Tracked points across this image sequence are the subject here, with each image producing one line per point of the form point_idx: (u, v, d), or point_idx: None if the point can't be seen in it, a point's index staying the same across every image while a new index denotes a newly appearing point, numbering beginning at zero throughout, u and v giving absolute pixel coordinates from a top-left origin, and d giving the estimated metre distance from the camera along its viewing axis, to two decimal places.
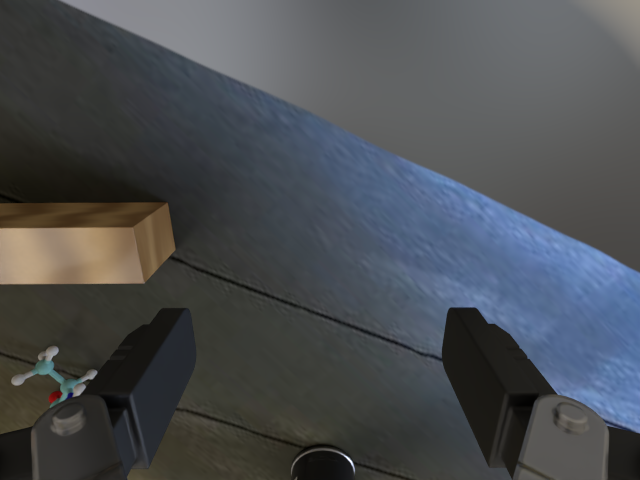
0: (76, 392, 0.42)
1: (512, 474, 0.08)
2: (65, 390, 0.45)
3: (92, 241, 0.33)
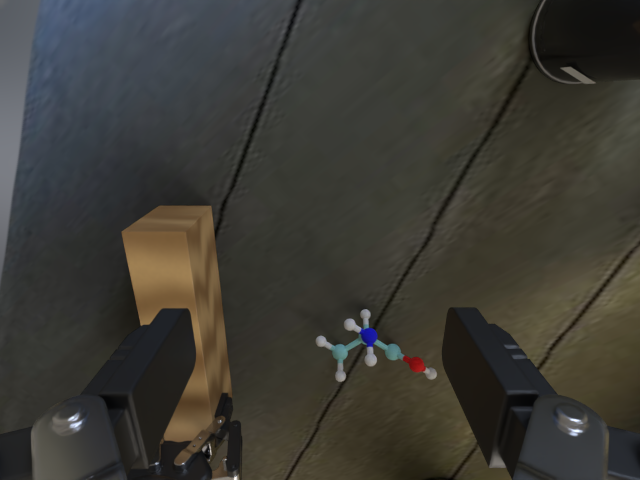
0: (349, 327, 0.38)
1: (512, 474, 0.08)
2: None
3: (144, 272, 0.34)
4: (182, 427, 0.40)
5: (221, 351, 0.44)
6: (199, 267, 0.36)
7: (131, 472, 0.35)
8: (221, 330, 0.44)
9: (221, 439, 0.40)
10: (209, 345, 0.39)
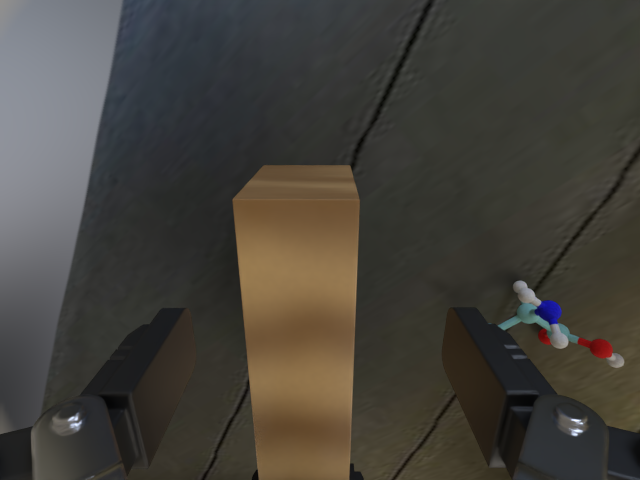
0: (529, 299, 0.29)
1: (512, 474, 0.08)
2: (531, 317, 0.33)
3: (267, 278, 0.18)
4: None
5: None
6: None
7: None
8: None
9: None
10: None
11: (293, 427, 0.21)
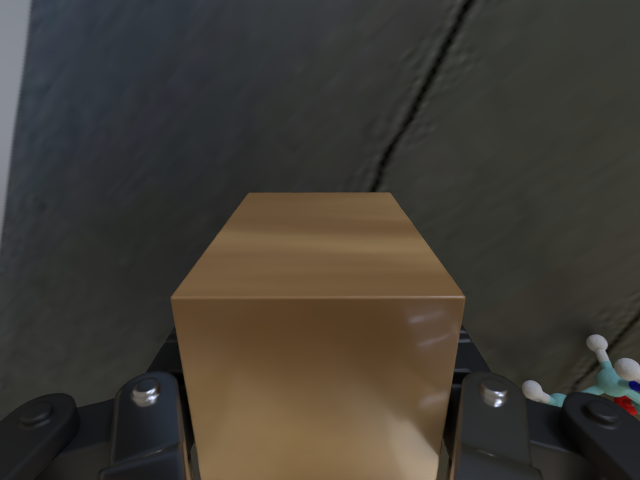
0: (635, 376, 0.20)
1: (448, 452, 0.08)
2: (620, 390, 0.24)
3: (255, 447, 0.08)
4: None
5: None
6: None
7: None
8: None
9: None
10: None
11: None
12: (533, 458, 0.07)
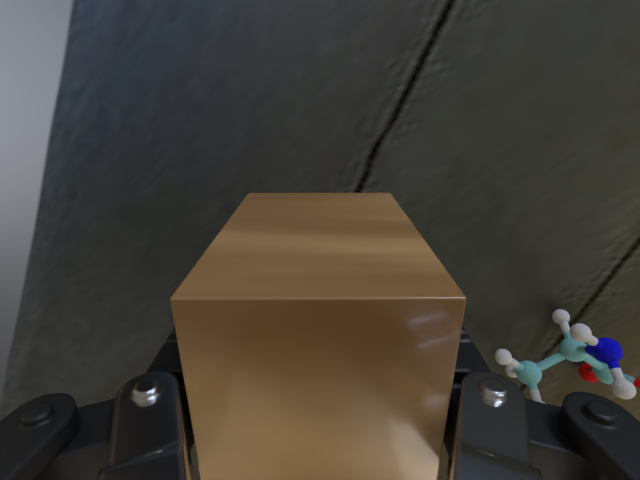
0: (586, 337, 0.24)
1: (448, 452, 0.08)
2: (578, 355, 0.28)
3: (255, 448, 0.08)
4: None
5: None
6: None
7: None
8: None
9: None
10: None
11: None
12: (532, 458, 0.07)
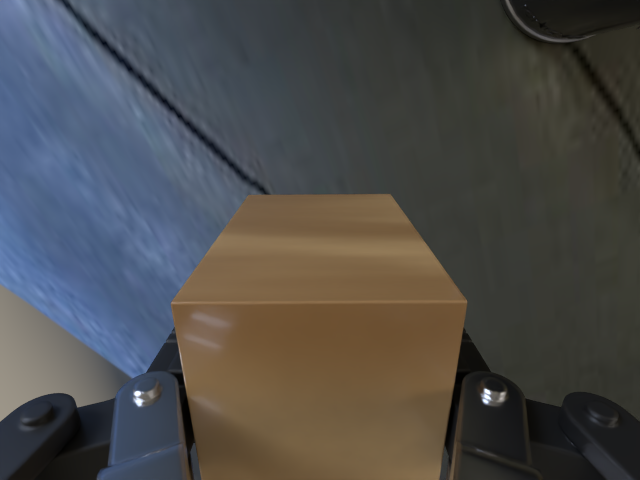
0: None
1: (448, 452, 0.08)
2: None
3: (256, 452, 0.08)
4: None
5: None
6: None
7: None
8: None
9: None
10: None
11: None
12: (533, 458, 0.07)
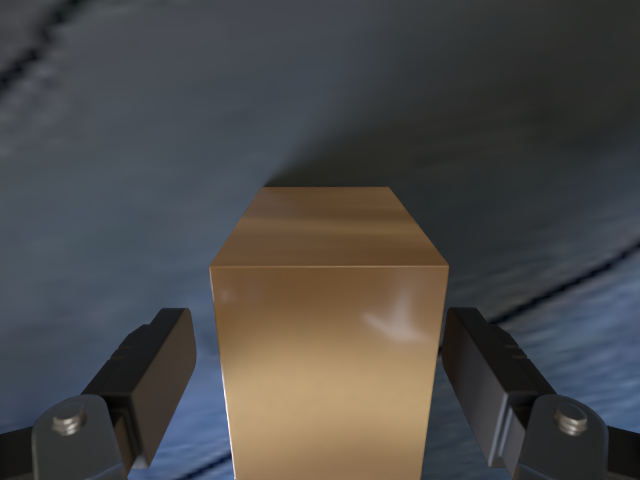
0: None
1: (512, 474, 0.08)
2: None
3: (275, 397, 0.10)
4: None
5: None
6: None
7: None
8: None
9: None
10: None
11: None
12: None
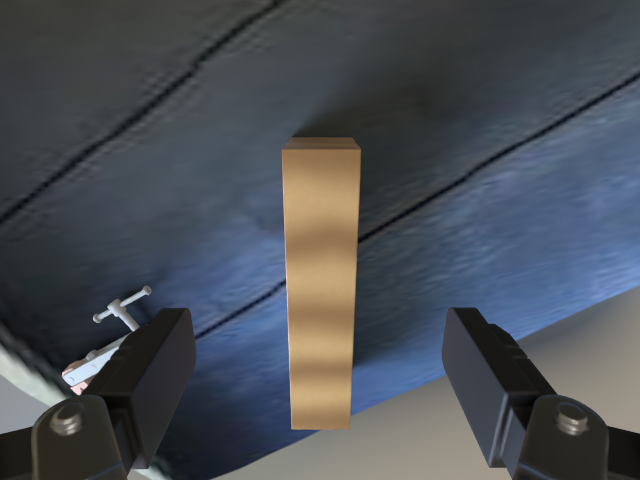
0: None
1: (512, 474, 0.08)
2: None
3: (302, 202, 0.27)
4: (315, 399, 0.34)
5: None
6: None
7: None
8: None
9: None
10: None
11: (315, 314, 0.31)
12: None
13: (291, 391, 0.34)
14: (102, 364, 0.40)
